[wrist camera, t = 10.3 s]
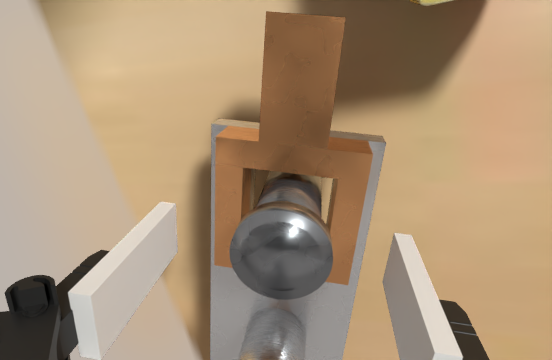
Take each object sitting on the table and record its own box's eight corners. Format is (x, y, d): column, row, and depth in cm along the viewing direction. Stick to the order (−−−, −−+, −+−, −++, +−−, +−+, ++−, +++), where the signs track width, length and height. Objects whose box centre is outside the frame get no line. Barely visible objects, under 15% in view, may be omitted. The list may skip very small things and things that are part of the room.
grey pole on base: (334, 320, 34) (344, 836, 12) (233, 303, 35) (72, 754, 13) (386, 28, 24) (1008, -67, 2) (244, 17, 25) (-361, -129, 3)
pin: (268, 181, 30) (228, 292, 17) (272, 127, 28) (230, 204, 15) (323, 187, 29) (325, 306, 16) (331, 133, 27) (340, 218, 14)
